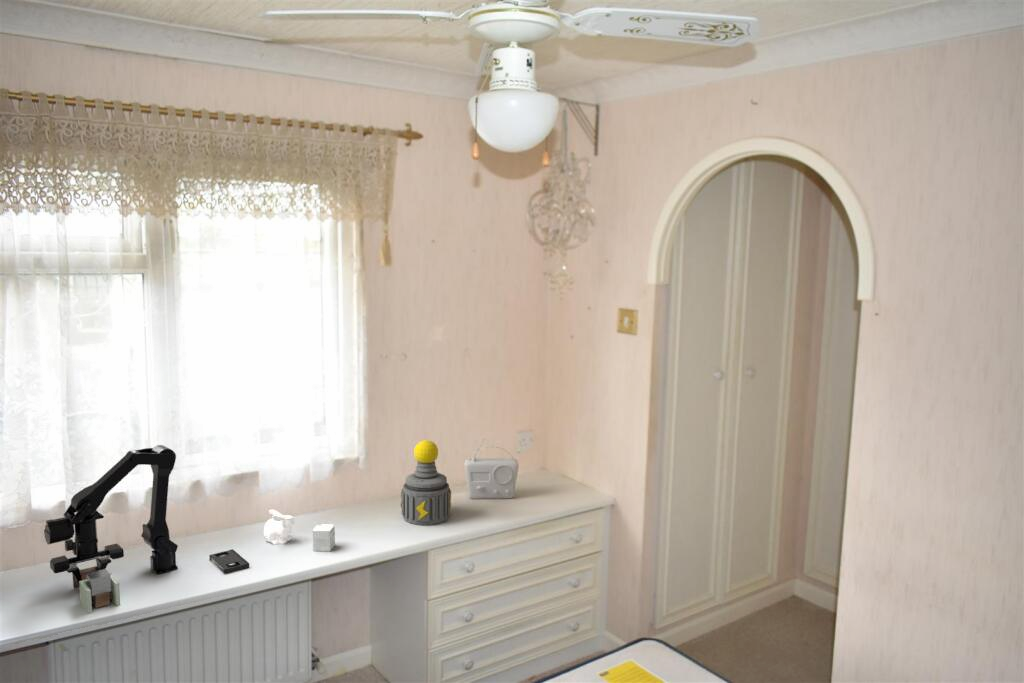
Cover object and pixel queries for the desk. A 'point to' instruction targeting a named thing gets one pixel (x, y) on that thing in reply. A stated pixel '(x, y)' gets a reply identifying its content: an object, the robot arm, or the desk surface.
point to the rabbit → (278, 528)
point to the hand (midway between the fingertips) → (89, 585)
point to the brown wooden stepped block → (96, 600)
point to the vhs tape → (229, 561)
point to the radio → (491, 477)
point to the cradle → (86, 593)
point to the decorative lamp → (426, 489)
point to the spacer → (99, 582)
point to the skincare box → (323, 537)
